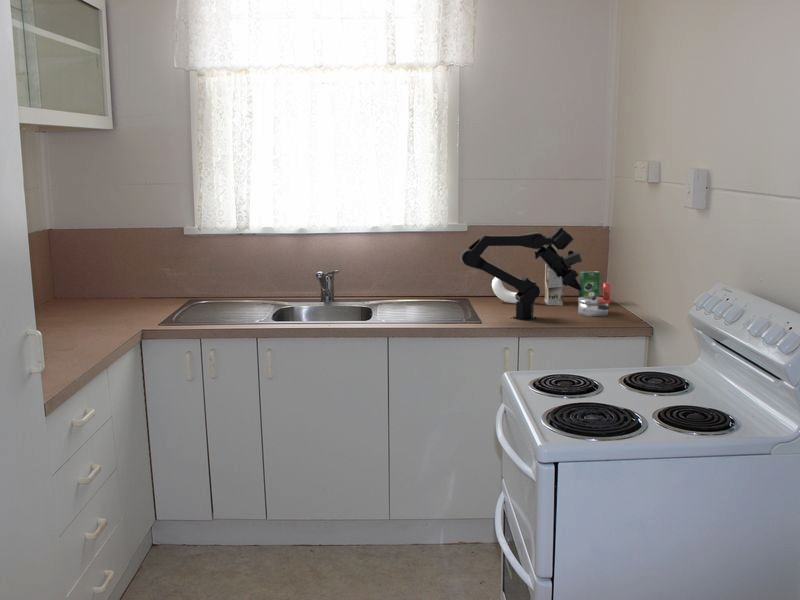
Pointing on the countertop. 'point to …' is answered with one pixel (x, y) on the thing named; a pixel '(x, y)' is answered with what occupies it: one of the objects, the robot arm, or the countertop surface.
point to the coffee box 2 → (589, 284)
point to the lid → (598, 300)
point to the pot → (593, 309)
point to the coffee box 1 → (553, 287)
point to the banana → (503, 291)
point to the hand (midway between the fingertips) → (580, 289)
